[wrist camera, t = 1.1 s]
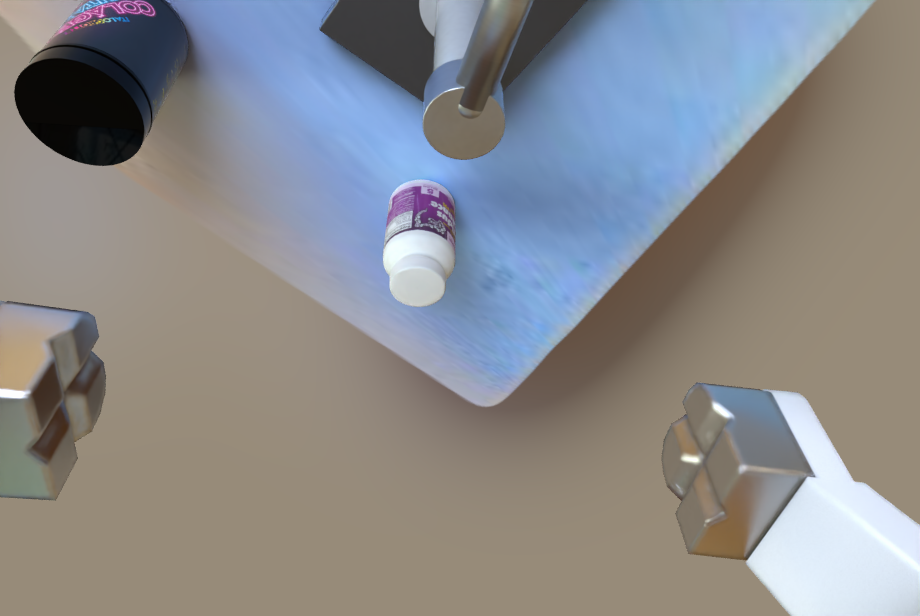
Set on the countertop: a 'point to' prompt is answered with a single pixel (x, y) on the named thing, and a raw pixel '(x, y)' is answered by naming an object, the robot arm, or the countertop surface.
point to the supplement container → (103, 79)
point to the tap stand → (432, 34)
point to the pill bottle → (419, 242)
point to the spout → (474, 85)
